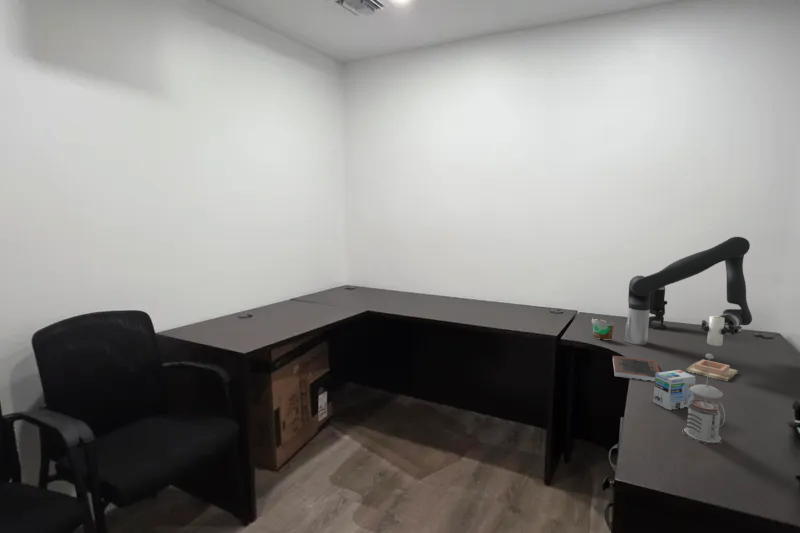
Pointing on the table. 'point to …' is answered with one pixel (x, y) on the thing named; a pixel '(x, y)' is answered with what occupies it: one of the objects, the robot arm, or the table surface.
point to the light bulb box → (673, 389)
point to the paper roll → (715, 330)
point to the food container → (602, 328)
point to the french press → (704, 427)
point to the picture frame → (635, 368)
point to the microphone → (657, 308)
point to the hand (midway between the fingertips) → (714, 330)
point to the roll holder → (712, 370)
